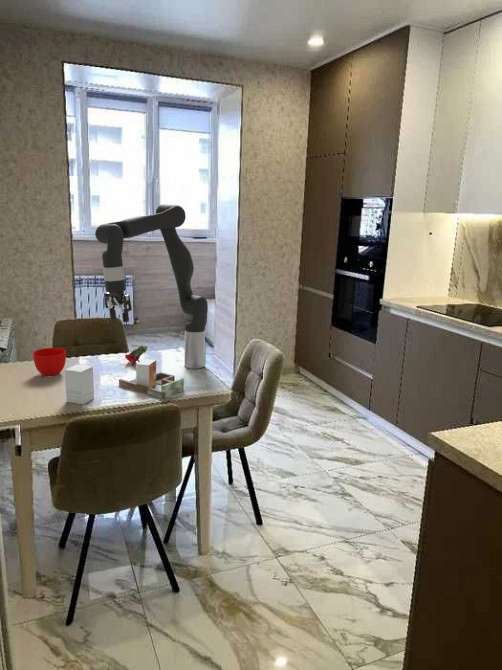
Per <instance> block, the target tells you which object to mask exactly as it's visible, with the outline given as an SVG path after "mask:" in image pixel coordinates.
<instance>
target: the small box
mask: <svg viewBox="0 0 502 670" xmlns="http://www.w3.org/2000/svg"><path fill="white" fill-rule="evenodd" d="M135 368H136V369H135V371H136V373H135V376H136V377H135V379H136V384H140V385H143V386H147V387H150V388H154V386H156V385H157V384H156V373H157V360H156V359H147V358H143V359H142V360H140V362H138V363H136V365H135Z"/></svg>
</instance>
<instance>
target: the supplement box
mask: <svg viewBox="0 0 502 670" xmlns="http://www.w3.org/2000/svg"><path fill="white" fill-rule="evenodd" d="M64 376H65V377H64V378H65V379H64V381H65V394H66V395H65V396H66V399H65V400H66V402H67V403H73V404H79V405H85V404H86V403H88V402H90V401H92V400H94V399H95V385H94V367H93V366H91V365H84V364H83V365H82V364H74V365H72V366H70V367H68V368H65V369H64Z"/></svg>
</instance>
